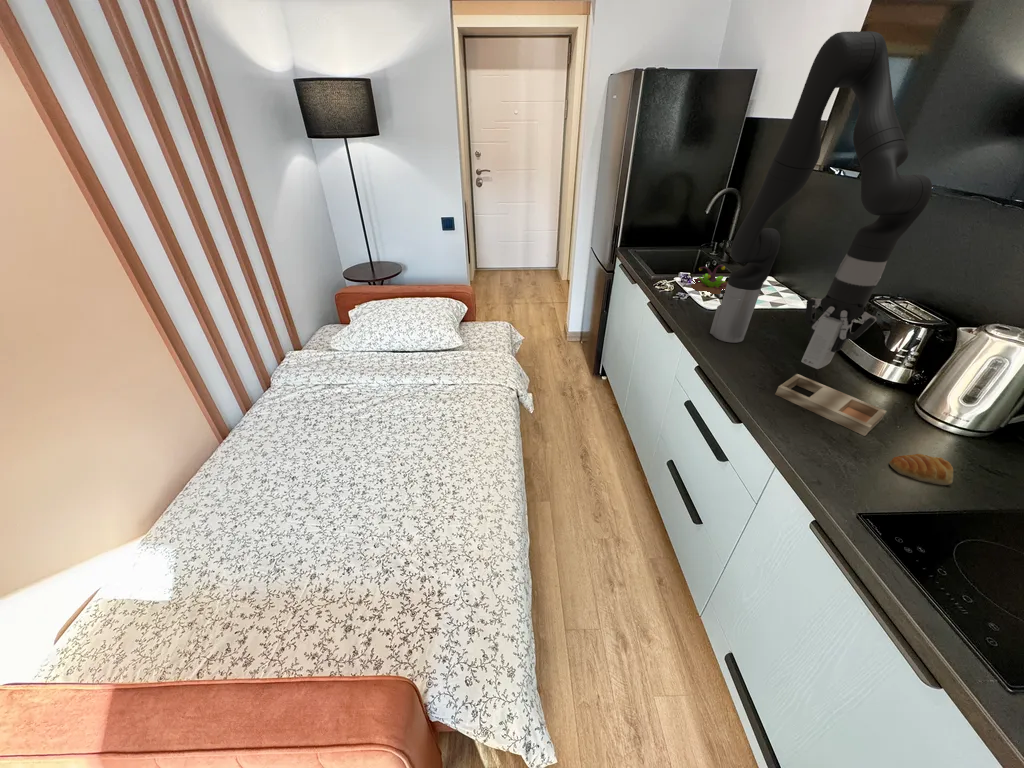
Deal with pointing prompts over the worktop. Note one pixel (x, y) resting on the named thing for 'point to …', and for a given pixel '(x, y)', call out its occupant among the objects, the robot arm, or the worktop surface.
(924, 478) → the pastry
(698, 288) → the plant
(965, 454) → the worktop surface
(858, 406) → the wooden compartment tray
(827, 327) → the skincare box
